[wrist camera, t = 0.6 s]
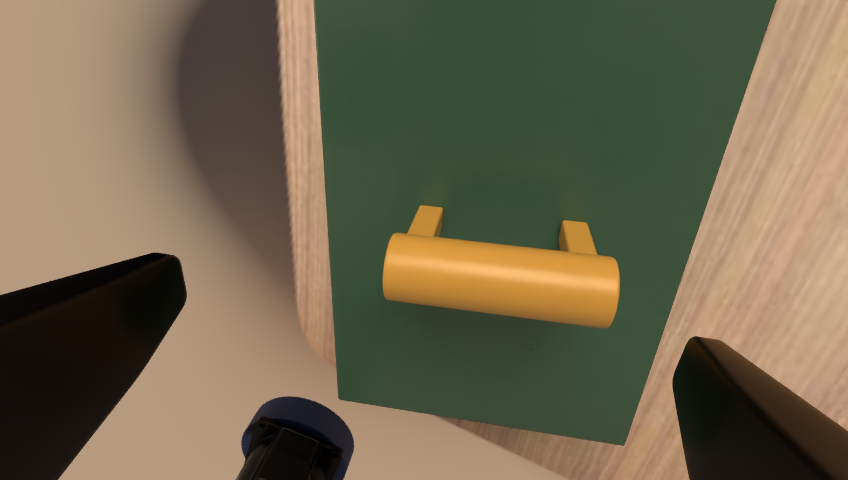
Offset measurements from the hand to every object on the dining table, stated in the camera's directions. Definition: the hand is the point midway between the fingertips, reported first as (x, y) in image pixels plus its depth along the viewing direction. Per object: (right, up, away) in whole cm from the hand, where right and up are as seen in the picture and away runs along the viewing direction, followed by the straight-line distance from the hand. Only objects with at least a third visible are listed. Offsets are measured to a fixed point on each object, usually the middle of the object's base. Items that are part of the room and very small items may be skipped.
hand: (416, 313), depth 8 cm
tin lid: (+2, +2, +6) cm, 7 cm away
